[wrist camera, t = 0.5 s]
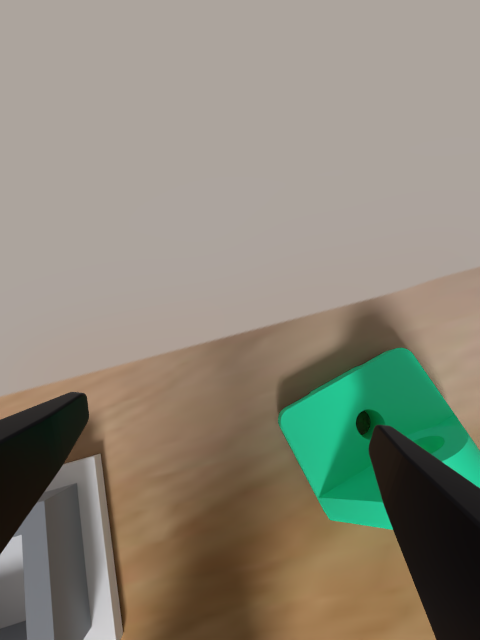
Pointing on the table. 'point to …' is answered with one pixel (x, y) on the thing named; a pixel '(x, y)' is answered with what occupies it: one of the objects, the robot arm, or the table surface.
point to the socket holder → (62, 563)
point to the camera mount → (353, 449)
